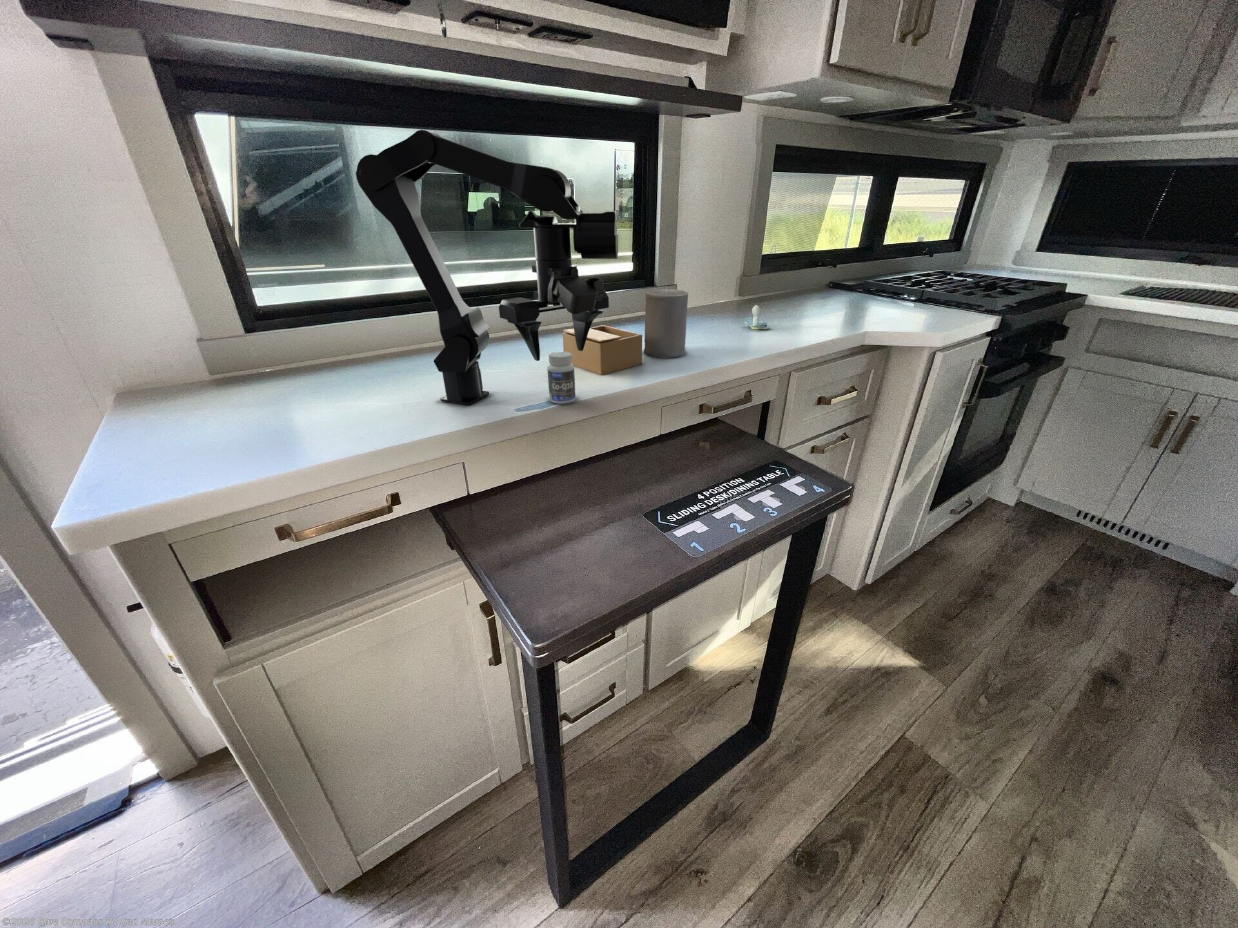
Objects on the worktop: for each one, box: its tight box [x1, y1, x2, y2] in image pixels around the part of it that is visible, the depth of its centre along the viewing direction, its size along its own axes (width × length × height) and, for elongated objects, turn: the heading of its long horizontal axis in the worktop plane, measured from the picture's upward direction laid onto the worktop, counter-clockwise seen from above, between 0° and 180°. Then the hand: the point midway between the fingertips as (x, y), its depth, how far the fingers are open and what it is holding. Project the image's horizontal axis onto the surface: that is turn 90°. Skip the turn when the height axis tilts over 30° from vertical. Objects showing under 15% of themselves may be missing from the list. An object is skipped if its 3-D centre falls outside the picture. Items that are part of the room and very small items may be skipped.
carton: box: [562, 324, 643, 376], centre depth 111 cm, size 12×13×6 cm
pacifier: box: [744, 304, 771, 330], centre depth 140 cm, size 7×6×6 cm
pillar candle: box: [643, 285, 689, 359], centre depth 116 cm, size 10×10×15 cm
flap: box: [562, 327, 621, 342], centre depth 107 cm, size 6×13×1 cm, turn 42°
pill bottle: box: [547, 351, 576, 405], centre depth 90 cm, size 5×5×8 cm
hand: (559, 355), depth 88 cm, fingers open, 9 cm apart
